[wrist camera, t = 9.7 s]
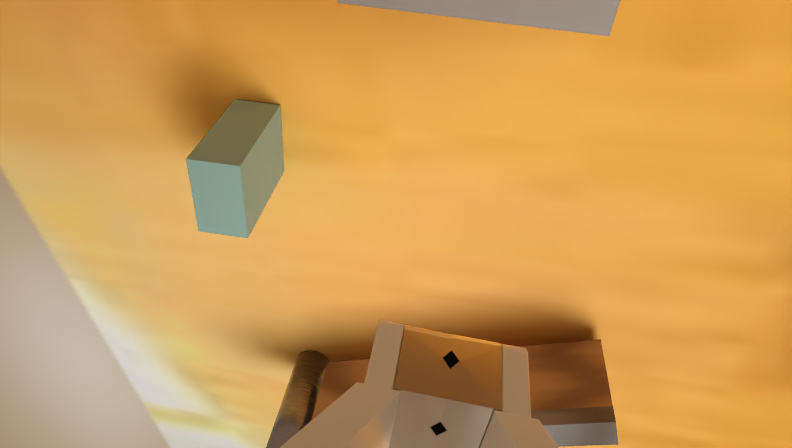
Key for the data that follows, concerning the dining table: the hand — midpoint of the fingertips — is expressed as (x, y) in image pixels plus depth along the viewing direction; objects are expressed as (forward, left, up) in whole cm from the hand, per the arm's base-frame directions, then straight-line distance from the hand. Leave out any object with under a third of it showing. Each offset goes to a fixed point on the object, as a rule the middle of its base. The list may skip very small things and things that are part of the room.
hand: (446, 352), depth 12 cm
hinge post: (-25, +8, -19) cm, 32 cm away
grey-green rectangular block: (-7, +10, -19) cm, 22 cm away
